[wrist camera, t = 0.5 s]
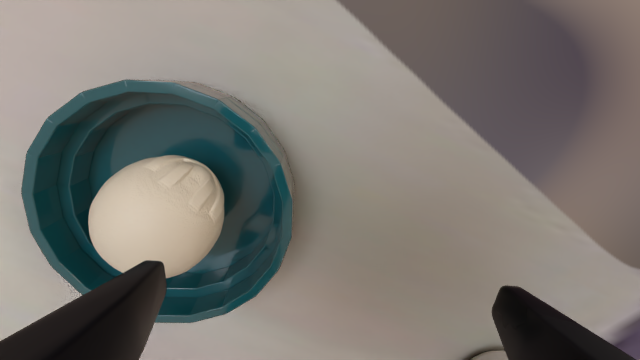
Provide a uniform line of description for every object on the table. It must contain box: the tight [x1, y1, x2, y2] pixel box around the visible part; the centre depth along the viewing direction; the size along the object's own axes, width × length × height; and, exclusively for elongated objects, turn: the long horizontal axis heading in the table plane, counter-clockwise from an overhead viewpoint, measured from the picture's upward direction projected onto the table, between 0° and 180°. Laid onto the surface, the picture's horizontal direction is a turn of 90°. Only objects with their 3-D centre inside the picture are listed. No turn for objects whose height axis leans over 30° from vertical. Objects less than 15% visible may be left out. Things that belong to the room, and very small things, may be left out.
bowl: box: [21, 80, 294, 323], centre depth 20 cm, size 15×15×4 cm
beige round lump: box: [88, 155, 224, 278], centre depth 18 cm, size 7×7×7 cm
